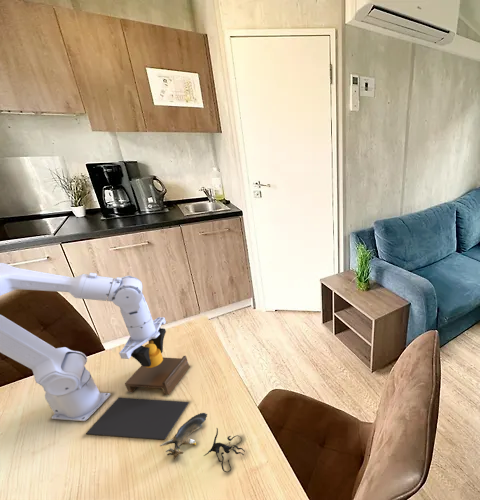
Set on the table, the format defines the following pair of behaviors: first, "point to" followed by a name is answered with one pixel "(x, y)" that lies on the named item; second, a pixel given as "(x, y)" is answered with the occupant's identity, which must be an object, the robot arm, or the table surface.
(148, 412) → the mat
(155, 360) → the orange tiered figure
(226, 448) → the creature
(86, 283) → the robot arm
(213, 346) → the table surface
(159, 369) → the shelf
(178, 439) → the eagle figurine
